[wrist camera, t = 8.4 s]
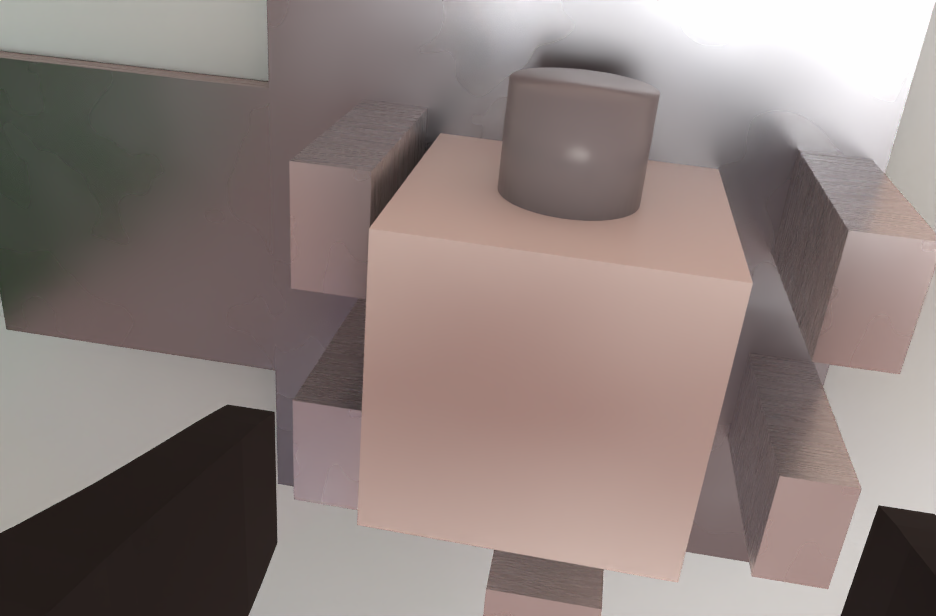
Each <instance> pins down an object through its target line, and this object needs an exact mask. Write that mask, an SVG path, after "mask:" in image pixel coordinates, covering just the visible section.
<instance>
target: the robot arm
mask: <svg viewBox="0 0 936 616" xmlns="http://www.w3.org/2000/svg"><path fill="white" fill-rule="evenodd" d="M276 545H277V507H276V461H275V415H274V412H272V411H265V410H259V409H252V408H246V407H239V406H233V405H226V406H224V407H222V408H220V409H218V410H217V411H215V412H213V413H211V414H209V415H208V416H206V417H204V418H203V419H201V420H199V421H198V422H196V423H194V424H193V425H191V426H189V427H188V428H186V429H184V430H183V431H181V432H179V433H178V434H176V435H174V436H173V437H171V438H170V439H168V440H166V441H165V442H163V443H161V444H160V445H158V446H156V447H155V448H153V449H151V450H150V451H148V452H146V453H145V454H143V455H141V456H140V457H138V458H136V459H135V460H133V461H131V462H130V463H128V464H126V465H124V466H123V467H121V468H119V469H118V470H116V471H114V472H113V473H111V474H109V475H108V476H106V477H104V478H103V479H101V480H99V481H97V482H96V483H94V484H92V485H90V486H89V487H87V488H85V489H83V490H81V491H79V492H77V493H75V494H74V495H72V496H70V497H68V498H66V499H64V500H62V501H61V502H59V503H57V504H55V505H53V506H51V507H49V508H48V509H46V510H44V511H42V512H40V513H38V514H36V515H34V516H33V517H31V518H29V519H27V520H25V521H23V522H21V523H20V524H18V525H16V526H14V527H12V528H10V529H8V530H6V531H4V532H2V533H0V616H248V615H249V613H250V610H251V608H252V606H253V603H254V601H255V598H256V596H257V593H258V591H259V589H260V586H261V584H262V581H263V579H264V576H265V573H266V571H267V568H268V566H269V563H270V560H271V558H272V555H273V552H274V550H275V547H276ZM841 616H936V515H935V514H931V513H924V512H918V511H911V510H905V509H898V508H892V507H885V506H878V509H877V512H876V515H875V518H874V520H873V523H872V526H871V529H870V532H869V535H868V538H867V541H866V544H865V547H864V550H863V552H862V555H861V558H860V561H859V564H858V567H857V570H856V573H855V576H854V579H853V582H852V585H851V587H850V590H849V593H848V596H847V599H846V602H845V605H844V608H843V611H842V614H841Z"/></svg>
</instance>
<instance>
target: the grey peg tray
mask: <svg viewBox="0 0 936 616" xmlns="http://www.w3.org/2000/svg"><path fill="white" fill-rule="evenodd" d="M934 4H935V0H267V25H268V68H269V82H265V81H256V80H248V79H239V78H230V77H221V76H213V75H204V74H195V73H186V72H178V71H169V70H160V69H151V68H142V67H134V66H125V65H116V64H107V63H99V62H90V61H81V60H72V59H64V58H55V57H46V56H37V55H29V54H20V53H11V52H2V51H0V294H1V300H2V306H3V311H4V317H5V323H6V329H7V330H14V331H21V332H27V333H34V334H40V335H47V336H54V337H60V338H67V339H73V340H80V341H87V342H93V343H100V344H106V345H113V346H119V347H126V348H133V349H139V350H146V351H152V352H159V353H166V354H172V355H179V356H185V357H192V358H199V359H205V360H212V361H218V362H225V363H231V364H238V365H245V366H251V367H258V368H264V369H271V370H276V412H277V455H278V484H283V485H289V486H294V499H296V500H302V501H308V502H314V503H319V504H325V505H331V506H337V507H343V508H349V509H355V510H358V493H359V468H360V443H361V418H362V393H363V368H364V343H365V318H366V293H367V268H368V243H369V228H370V227H371V225H372V224H373V223H374V221H375V220H376V219H377V217H378V216H379V215H380V213H381V212H382V211H383V209H384V208H385V207H386V205H387V204H388V203H389V201H390V200H391V199H392V197H393V196H394V195H395V193H396V192H397V191H398V189H399V188H400V187H401V185H402V184H403V183H404V181H405V180H406V179H407V177H408V176H409V174H410V173H411V172H412V170H413V169H414V168H415V166H416V165H417V164H418V162H419V161H420V160H421V158H422V157H423V156H424V154H425V153H426V152H427V150H428V149H429V148H430V146H431V145H432V144H433V142H434V141H435V140H436V138H437V137H438V136H439V134H440V133H443V134H451V135H458V136H466V137H474V138H481V139H489V140H497V141H503V132H504V122H505V113H506V104H507V94H508V85H509V76H510V75H511V73H513V72H515V71H518V70H523V69H529V68H573V69H584V70H592V71H599V72H605V73H611V74H616V75H620V76H625V77H629V78H632V79H636V80H639V81H642V82H644V83H647V84H649V85H651V86H653V87H655V88H656V89H657V90H658V91H659V92H660V97H659V103H658V108H657V114H656V119H655V125H654V130H653V136H652V141H651V147H650V152H649V158H648V160H651V161H658V162H666V163H674V164H682V165H689V166H697V167H705V168H712V169H719V172H720V176H721V179H722V182H723V186H724V189H725V192H726V196H727V199H728V202H729V206H730V209H731V212H732V216H733V219H734V222H735V225H736V229H737V232H738V235H739V239H740V242H741V245H742V249H743V252H744V255H745V259H746V262H747V265H748V269H749V272H750V275H751V279H752V282H753V285H752V289H751V293H750V297H749V301H748V305H747V309H746V313H745V317H744V321H743V325H742V329H741V333H740V337H739V341H738V345H737V349H736V353H735V357H734V361H733V365H732V369H731V373H730V377H729V381H728V385H727V389H726V393H725V397H724V401H723V405H722V409H721V413H720V417H719V421H718V425H717V429H716V433H715V437H714V441H713V445H712V449H711V453H710V457H709V461H708V465H707V469H706V473H705V477H704V481H703V485H702V489H701V493H700V496H699V500H698V504H697V508H696V512H695V516H694V520H693V524H692V528H691V532H690V536H689V540H688V544H687V548H686V552H691V553H697V554H703V555H709V556H715V557H721V558H727V559H733V560H739V561H745V562H749V563H750V569H751V575H752V576H753V577H759V578H765V579H771V580H777V581H783V582H789V583H795V584H801V585H807V586H813V587H819V588H825V589H828V588H829V585H830V582H831V579H832V576H833V573H834V570H835V567H836V564H837V561H838V558H839V555H840V552H841V549H842V546H843V543H844V540H845V537H846V534H847V531H848V528H849V525H850V522H851V519H852V516H853V513H854V510H855V507H856V504H857V501H858V498H859V495H860V492H861V486H860V483H859V481H858V478H857V475H856V473H855V470H854V467H853V465H852V462H851V460H850V457H849V454H848V452H847V449H846V446H845V444H844V441H843V438H842V436H841V433H840V430H839V428H838V425H837V422H836V420H835V417H834V414H833V412H832V409H831V407H830V404H829V401H828V399H827V396H826V393H825V391H824V388H823V385H824V381H825V378H826V374H827V371H828V368H829V364H831V365H838V366H845V367H852V368H860V369H867V370H874V371H881V372H888V373H895V374H900V372H901V369H902V366H903V363H904V360H905V357H906V354H907V351H908V348H909V345H910V342H911V339H912V336H913V333H914V330H915V327H916V324H917V321H918V318H919V315H920V312H921V308H922V305H923V302H924V299H925V296H926V293H927V290H928V287H929V284H930V281H931V278H932V275H933V272H934V269H935V266H936V233H935V232H934V231H933V230H932V228H931V227H930V226H929V225H928V224H927V223H926V221H925V220H924V219H923V218H922V217H921V216H920V214H919V213H918V212H917V211H916V210H915V209H914V207H913V206H912V205H911V204H910V203H909V202H908V200H907V199H906V198H905V197H904V196H903V195H902V193H901V192H900V191H899V190H898V189H897V188H896V186H895V185H894V184H893V183H892V182H891V181H890V179H889V178H888V177H887V176H886V175H885V172H886V169H887V165H888V162H889V158H890V155H891V151H892V148H893V145H894V141H895V138H896V134H897V131H898V127H899V124H900V121H901V117H902V114H903V110H904V107H905V103H906V100H907V96H908V93H909V90H910V86H911V83H912V79H913V76H914V72H915V69H916V66H917V62H918V59H919V55H920V52H921V48H922V45H923V42H924V38H925V35H926V31H927V28H928V24H929V21H930V18H931V14H932V11H933V7H934ZM602 591H603V569H600V568H594V567H589V566H583V565H578V564H572V563H567V562H561V561H555V560H550V559H544V558H539V557H533V556H528V555H522V554H517V553H511V552H505V551H500V550H494V554H493V559H492V563H491V568H490V573H489V578H488V583H487V588H486V596H485V605H484V614H483V616H601V611H602Z"/></svg>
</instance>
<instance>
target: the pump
mask: <svg viewBox="0 0 936 616" xmlns="http://www.w3.org/2000/svg"><path fill="white" fill-rule="evenodd" d="M659 97H660V92H659V91H658V90H657V89H656V88H655V87H653V86H651V85H649V84H647V83H644V82H642V81H639V80H636V79H632V78H629V77H625V76H620V75H616V74H611V73H605V72H599V71H592V70H584V69H573V68H529V69H523V70H518V71H515V72H513V73H511V75H510V76H509V85H508V94H507V104H506V113H505V122H504V132H503V141H497V140H489V139H481V138H474V137H466V136H458V135H451V134H443V133H440V134H439V136H438V137H437V138H436V140H435V141H434V142H433V144H432V145H431V146H430V148H429V149H428V150H427V152H426V153H425V154H424V156H423V157H422V158H421V160H420V161H419V162H418V164H417V165H416V166H415V168H414V169H413V170H412V172H411V173H410V174H409V176H408V177H407V179H406V180H405V181H404V183H403V184H402V185H401V187H400V188H399V189H398V191H397V192H396V193H395V195H394V196H393V197H392V199H391V200H390V201H389V203H388V204H387V205H386V207H385V208H384V209H383V211H382V212H381V213H380V215H379V216H378V217H377V219H376V220H375V221H374V223H373V224H372V225H371V227H370V228H369V243H368V268H367V293H366V318H365V343H364V368H363V393H362V418H361V443H360V468H359V493H358V518H357V525H361V526H366V527H372V528H377V529H383V530H389V531H394V532H400V533H405V534H411V535H416V536H422V537H427V538H433V539H439V540H444V541H450V542H455V543H461V544H466V545H472V546H478V547H483V548H489V549H494V550H500V551H505V552H511V553H517V554H522V555H528V556H533V557H539V558H544V559H550V560H555V561H561V562H567V563H572V564H578V565H583V566H589V567H594V568H600V569H606V570H611V571H617V572H622V573H628V574H633V575H639V576H645V577H650V578H656V579H661V580H667V581H672V582H678V580H679V576H680V572H681V568H682V564H683V560H684V556H685V552H686V548H687V544H688V540H689V536H690V532H691V528H692V524H693V520H694V516H695V512H696V508H697V504H698V500H699V496H700V493H701V489H702V485H703V481H704V477H705V473H706V469H707V465H708V461H709V457H710V453H711V449H712V445H713V441H714V437H715V433H716V429H717V425H718V421H719V417H720V413H721V409H722V405H723V401H724V397H725V393H726V389H727V385H728V381H729V377H730V373H731V369H732V365H733V361H734V357H735V353H736V349H737V345H738V341H739V337H740V333H741V329H742V325H743V321H744V317H745V313H746V309H747V305H748V301H749V297H750V293H751V289H752V285H753V282H752V279H751V275H750V272H749V269H748V265H747V262H746V259H745V255H744V252H743V249H742V245H741V242H740V239H739V235H738V232H737V229H736V225H735V222H734V219H733V216H732V212H731V209H730V206H729V202H728V199H727V196H726V192H725V189H724V186H723V182H722V179H721V176H720V172H719V169H712V168H705V167H697V166H689V165H682V164H674V163H666V162H658V161H651V160H648V158H649V152H650V147H651V141H652V136H653V130H654V125H655V119H656V114H657V108H658V103H659Z"/></svg>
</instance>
